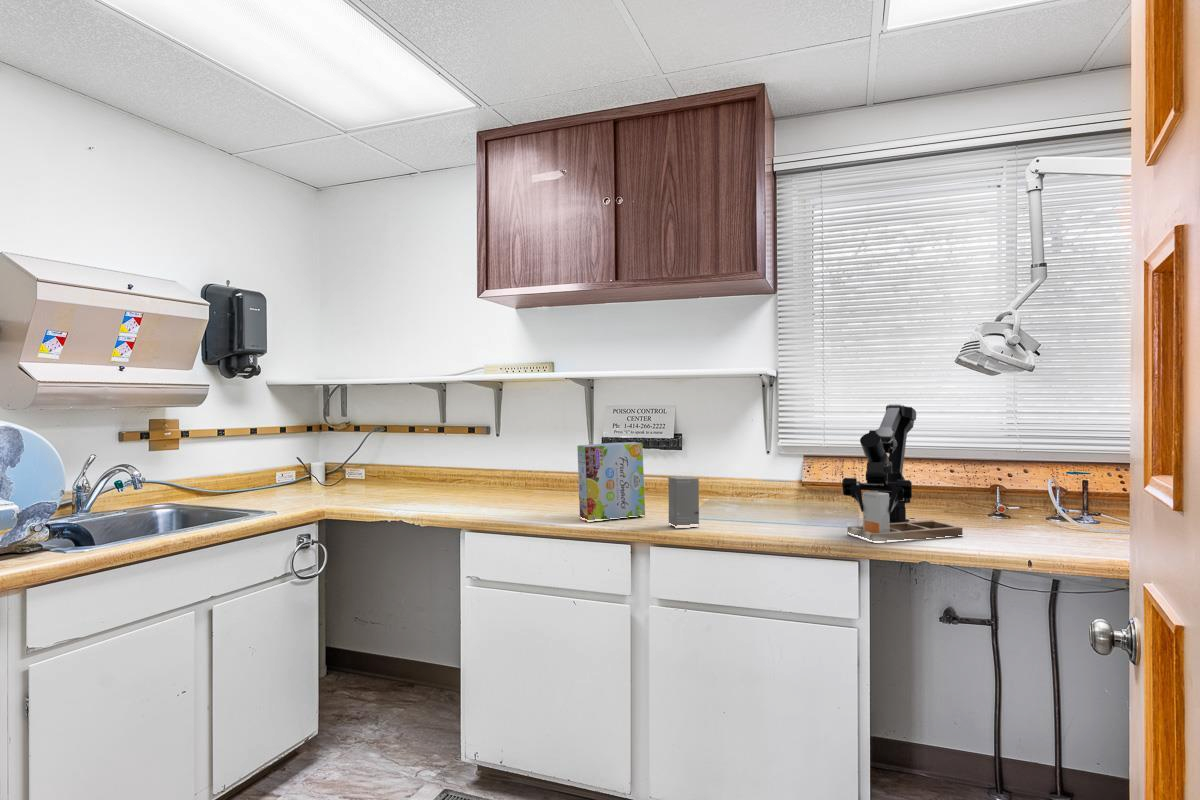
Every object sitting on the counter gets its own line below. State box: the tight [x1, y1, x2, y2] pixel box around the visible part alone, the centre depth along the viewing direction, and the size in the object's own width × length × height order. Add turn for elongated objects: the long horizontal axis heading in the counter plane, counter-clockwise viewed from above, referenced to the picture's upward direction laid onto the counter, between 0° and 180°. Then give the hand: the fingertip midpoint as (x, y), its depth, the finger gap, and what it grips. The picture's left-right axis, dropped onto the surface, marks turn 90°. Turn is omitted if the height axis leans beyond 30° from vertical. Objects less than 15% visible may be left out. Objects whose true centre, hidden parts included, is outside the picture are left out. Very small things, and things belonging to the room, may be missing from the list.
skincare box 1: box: [667, 476, 700, 526], centre depth 211 cm, size 8×7×16 cm
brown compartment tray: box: [846, 519, 964, 541], centre depth 193 cm, size 12×30×2 cm, turn 104°
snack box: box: [576, 441, 646, 520], centre depth 227 cm, size 22×9×26 cm, turn 113°
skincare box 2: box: [862, 490, 891, 533], centre depth 191 cm, size 6×4×12 cm
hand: (875, 511), depth 190 cm, fingers closed on skincare box 2, 7 cm apart
